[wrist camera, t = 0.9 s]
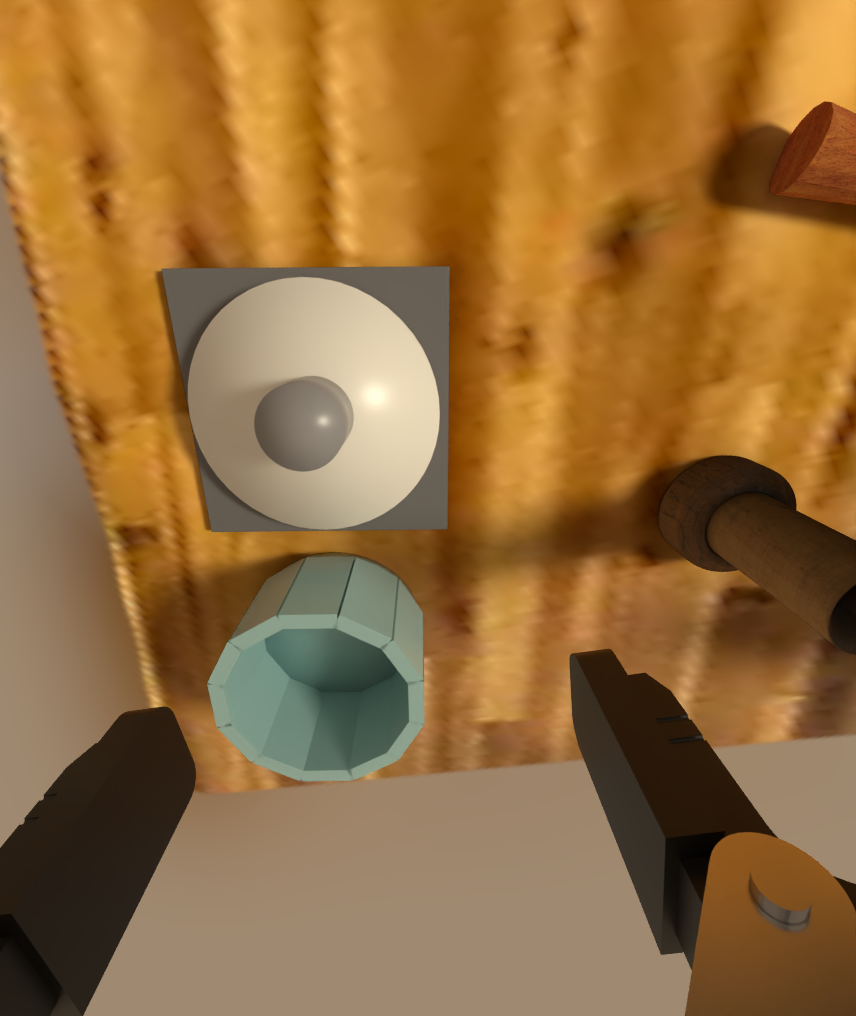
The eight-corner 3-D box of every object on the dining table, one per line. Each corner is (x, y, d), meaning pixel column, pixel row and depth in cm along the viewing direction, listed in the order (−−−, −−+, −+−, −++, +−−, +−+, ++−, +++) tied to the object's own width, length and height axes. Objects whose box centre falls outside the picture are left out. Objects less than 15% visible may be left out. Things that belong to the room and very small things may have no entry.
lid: (173, 280, 23) (118, 269, 19) (439, 277, 23) (443, 267, 19) (219, 524, 28) (182, 559, 23) (439, 521, 28) (442, 555, 24)
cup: (243, 550, 29) (191, 616, 22) (422, 548, 29) (422, 612, 22) (267, 691, 33) (229, 782, 26) (424, 689, 33) (425, 779, 26)
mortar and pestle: (672, 571, 30) (996, 888, 13) (644, 483, 28) (988, 728, 11) (778, 529, 29) (1276, 814, 12) (758, 435, 27) (1329, 622, 10)
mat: (166, 269, 23) (161, 268, 23) (448, 267, 23) (449, 266, 23) (215, 528, 28) (211, 531, 28) (446, 525, 28) (447, 528, 28)
